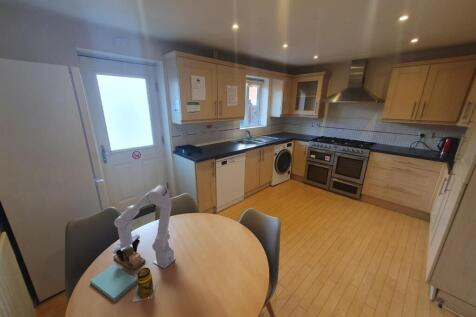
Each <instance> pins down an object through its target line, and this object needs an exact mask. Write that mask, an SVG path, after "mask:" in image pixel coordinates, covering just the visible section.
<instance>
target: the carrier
mask: <svg viewBox="0 0 476 317" xmlns="http://www.w3.org/2000/svg"><path fill="white" fill-rule="evenodd" d="M122 251H123V252H124V253H123V258H124V261H123V262H122V261H120V259H119V257H118V256H117V255H116V254H114V255H113V256H112V258H113V260H114V261H116V262H118V263H119V264H121V265H123V266H124V267H126V268H128V269H129V270H131V271H133V272H135V271H137V268H140V267H142V265H144V264H145V263H146V259H145V258H143V257H142V256H141V261H140V262H138V263H137V264H136V265H133V264H131V263H130V261H129V256H130V255H132V254H133V253H135V252H134V249H133V247H132V245H129V246H127V247H126V248H124V249H123V250H122Z"/></svg>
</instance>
